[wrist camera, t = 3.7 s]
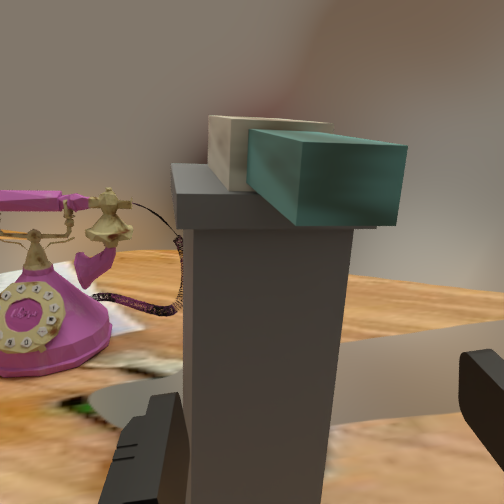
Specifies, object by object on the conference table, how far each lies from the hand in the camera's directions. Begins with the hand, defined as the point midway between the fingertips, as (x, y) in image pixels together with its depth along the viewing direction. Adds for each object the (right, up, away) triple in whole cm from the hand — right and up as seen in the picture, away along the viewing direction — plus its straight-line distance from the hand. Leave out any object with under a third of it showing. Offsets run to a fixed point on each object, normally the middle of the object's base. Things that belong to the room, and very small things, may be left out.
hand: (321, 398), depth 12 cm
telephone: (-30, -10, +59) cm, 67 cm away
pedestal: (-3, -21, +29) cm, 36 cm away
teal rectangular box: (0, +8, +13) cm, 16 cm away
